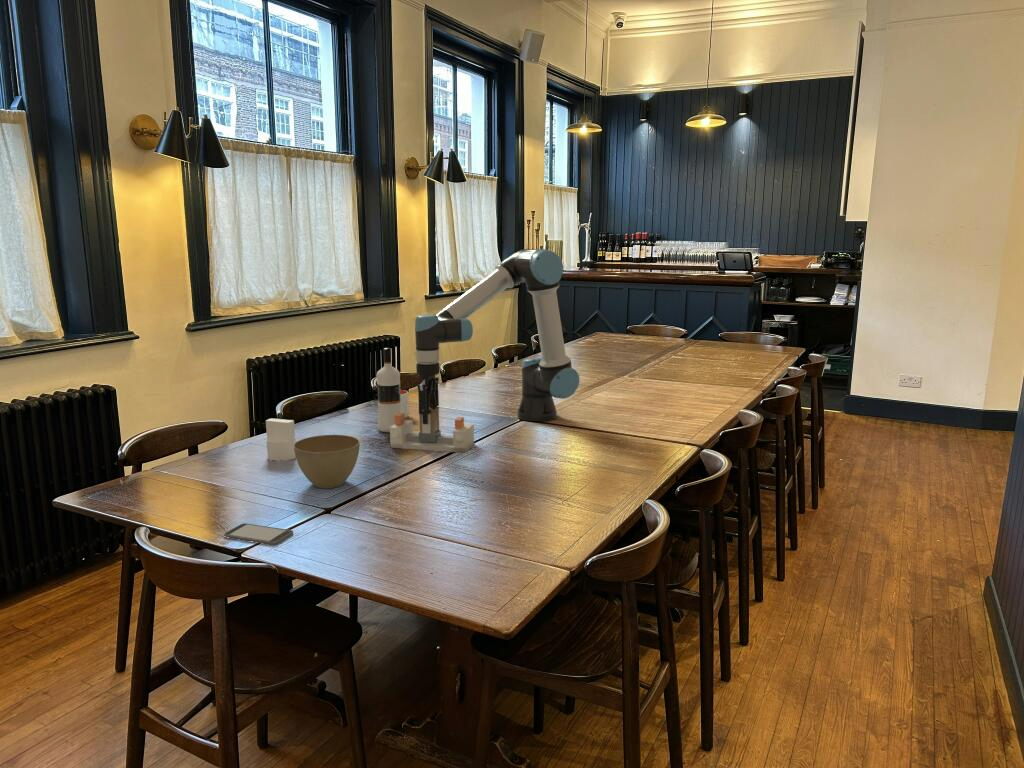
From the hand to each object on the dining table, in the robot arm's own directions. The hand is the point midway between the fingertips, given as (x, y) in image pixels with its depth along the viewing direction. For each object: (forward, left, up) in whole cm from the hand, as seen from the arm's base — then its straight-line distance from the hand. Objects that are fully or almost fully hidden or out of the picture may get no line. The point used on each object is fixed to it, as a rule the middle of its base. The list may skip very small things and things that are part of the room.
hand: (429, 430), depth 245 cm
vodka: (+21, -16, -5) cm, 27 cm away
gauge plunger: (+11, 0, +2) cm, 11 cm away
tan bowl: (+15, +42, -5) cm, 45 cm away
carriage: (0, 0, -3) cm, 3 cm away
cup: (+26, -33, -6) cm, 42 cm away
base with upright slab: (+42, +22, -6) cm, 48 cm away
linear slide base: (-1, 0, -5) cm, 5 cm away
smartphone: (+14, +79, -6) cm, 80 cm away
